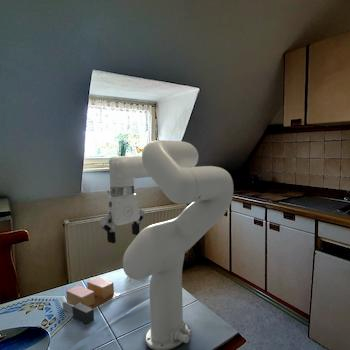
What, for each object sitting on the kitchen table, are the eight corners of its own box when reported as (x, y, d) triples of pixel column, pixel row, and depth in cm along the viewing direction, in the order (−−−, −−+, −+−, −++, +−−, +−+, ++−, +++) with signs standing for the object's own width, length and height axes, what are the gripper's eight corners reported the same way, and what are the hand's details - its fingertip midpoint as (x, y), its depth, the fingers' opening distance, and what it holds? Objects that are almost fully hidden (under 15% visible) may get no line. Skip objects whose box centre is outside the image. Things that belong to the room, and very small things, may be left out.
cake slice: (94, 303, 97) (94, 291, 96) (82, 309, 93) (81, 297, 92) (79, 296, 101) (78, 285, 101) (66, 302, 97) (66, 290, 97)
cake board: (121, 296, 103) (120, 294, 103) (90, 312, 92) (90, 310, 92) (99, 288, 109) (99, 285, 109) (68, 302, 99) (68, 300, 99)
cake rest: (114, 293, 103) (113, 282, 103) (103, 298, 99) (102, 287, 99) (98, 287, 108) (98, 276, 108) (87, 292, 104) (87, 281, 104)
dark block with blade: (94, 323, 87) (93, 309, 86) (87, 327, 84) (86, 312, 84) (67, 309, 94) (66, 296, 94) (60, 313, 92) (59, 300, 91)
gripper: (105, 195, 82) (108, 247, 84) (149, 188, 97) (151, 233, 99) (91, 193, 86) (94, 244, 87) (135, 187, 101) (137, 230, 102)
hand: (124, 238), depth 93 cm, fingers open, 9 cm apart
